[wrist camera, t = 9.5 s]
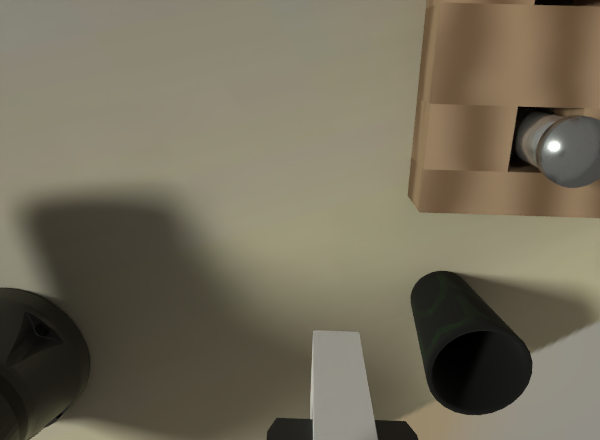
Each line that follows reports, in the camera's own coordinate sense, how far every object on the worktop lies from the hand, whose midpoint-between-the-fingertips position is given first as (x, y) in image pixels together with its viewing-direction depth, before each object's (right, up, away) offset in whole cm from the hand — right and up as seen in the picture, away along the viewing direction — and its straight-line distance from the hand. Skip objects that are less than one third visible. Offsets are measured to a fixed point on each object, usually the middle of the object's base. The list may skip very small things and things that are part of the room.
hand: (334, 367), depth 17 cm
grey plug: (+18, +12, +25) cm, 33 cm away
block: (+18, +18, +25) cm, 35 cm away
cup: (+12, -2, +32) cm, 34 cm away
